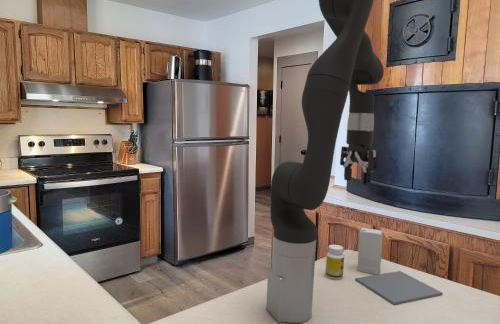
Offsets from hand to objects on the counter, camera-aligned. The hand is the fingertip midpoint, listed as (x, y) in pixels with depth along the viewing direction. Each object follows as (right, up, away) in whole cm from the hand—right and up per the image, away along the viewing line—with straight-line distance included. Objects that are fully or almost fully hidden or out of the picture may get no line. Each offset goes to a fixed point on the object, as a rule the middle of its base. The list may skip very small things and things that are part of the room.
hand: (356, 182), depth 109 cm
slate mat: (+6, -27, -15) cm, 31 cm away
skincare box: (+2, -26, -5) cm, 26 cm away
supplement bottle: (-9, -26, -9) cm, 29 cm away
